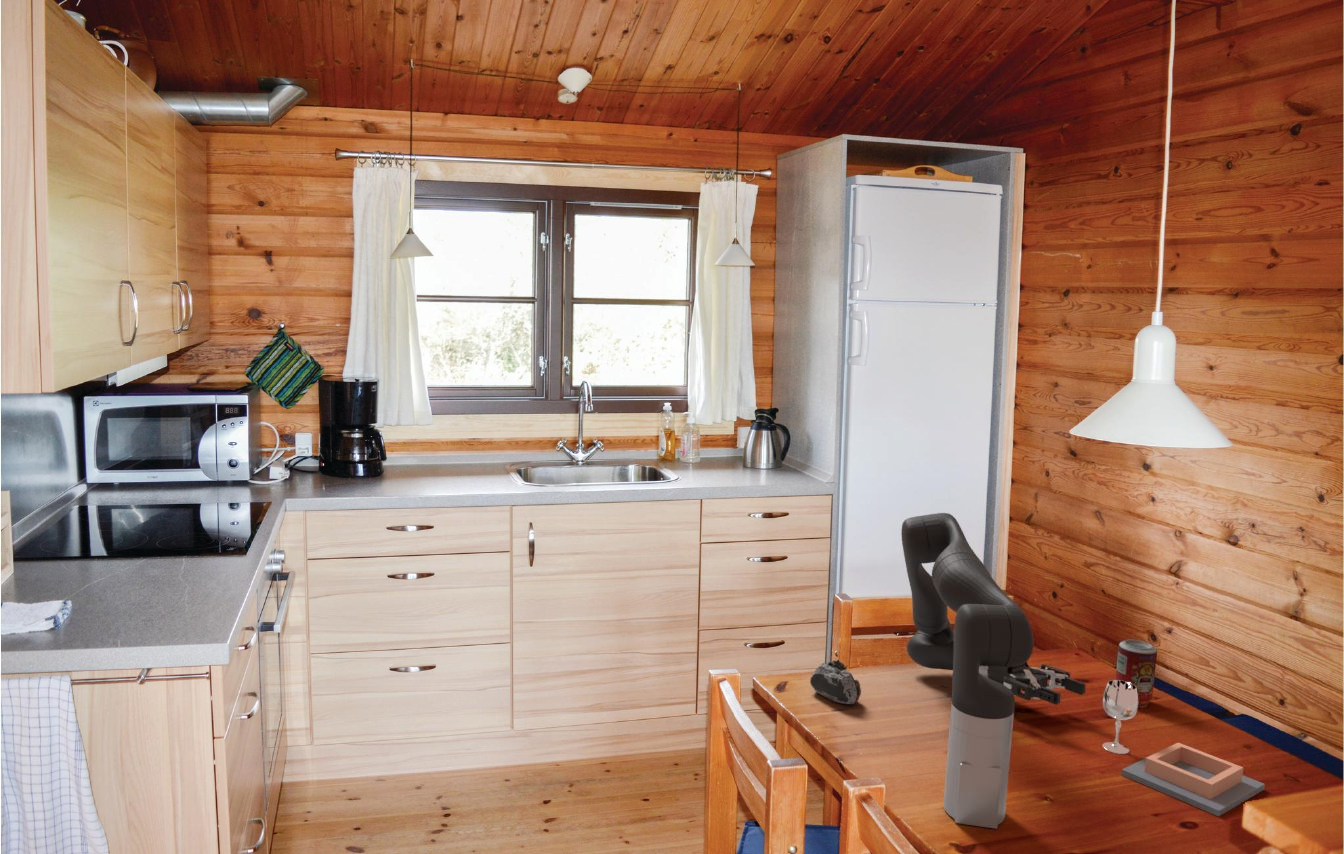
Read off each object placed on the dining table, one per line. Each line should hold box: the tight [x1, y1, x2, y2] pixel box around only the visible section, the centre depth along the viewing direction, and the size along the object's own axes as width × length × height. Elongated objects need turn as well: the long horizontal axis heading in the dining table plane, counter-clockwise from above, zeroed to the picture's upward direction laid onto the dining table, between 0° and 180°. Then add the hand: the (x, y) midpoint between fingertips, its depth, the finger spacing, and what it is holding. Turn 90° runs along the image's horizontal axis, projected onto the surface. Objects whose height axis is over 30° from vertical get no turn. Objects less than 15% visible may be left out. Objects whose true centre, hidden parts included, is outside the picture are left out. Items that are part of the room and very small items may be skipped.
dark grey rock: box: [809, 659, 862, 705], centre depth 196 cm, size 12×7×10 cm
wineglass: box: [1102, 679, 1139, 755], centre depth 177 cm, size 6×6×12 cm
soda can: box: [1114, 638, 1158, 709], centre depth 198 cm, size 7×7×12 cm
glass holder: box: [1121, 742, 1266, 817], centre depth 165 cm, size 16×16×4 cm
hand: (1072, 694), depth 184 cm, fingers open, 8 cm apart
